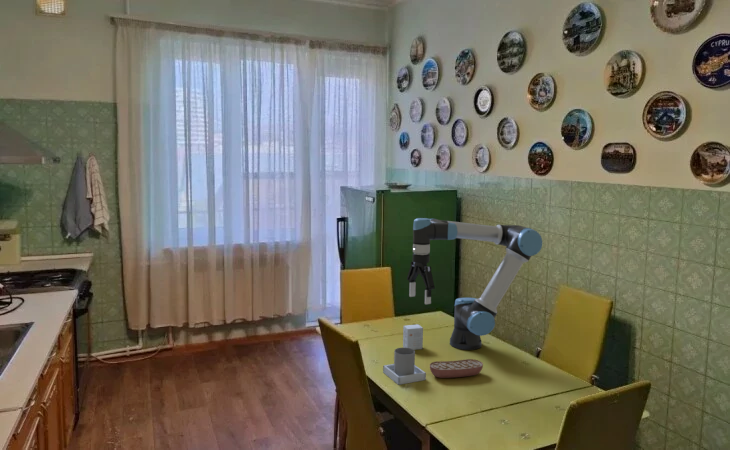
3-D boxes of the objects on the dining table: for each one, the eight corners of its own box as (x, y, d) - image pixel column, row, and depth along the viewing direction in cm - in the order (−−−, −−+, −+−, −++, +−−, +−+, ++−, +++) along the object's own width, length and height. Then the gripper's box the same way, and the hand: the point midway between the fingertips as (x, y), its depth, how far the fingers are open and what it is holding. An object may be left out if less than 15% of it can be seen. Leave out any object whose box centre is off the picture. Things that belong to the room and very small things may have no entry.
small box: (418, 345, 265) (418, 324, 263) (422, 349, 259) (423, 327, 258) (402, 346, 262) (403, 325, 261) (407, 350, 257) (407, 329, 256)
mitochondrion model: (476, 369, 236) (477, 358, 235) (487, 378, 227) (487, 367, 226) (426, 373, 231) (426, 362, 230) (434, 383, 221) (434, 371, 221)
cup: (412, 379, 222) (413, 355, 221) (392, 377, 224) (392, 353, 223) (415, 371, 230) (416, 348, 229) (396, 369, 232) (396, 346, 231)
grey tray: (409, 367, 236) (409, 361, 236) (425, 379, 224) (425, 372, 223) (383, 372, 231) (383, 365, 230) (398, 384, 219) (398, 377, 218)
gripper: (400, 249, 252) (399, 294, 255) (428, 258, 229) (427, 308, 232) (414, 248, 255) (413, 292, 258) (443, 257, 233) (442, 306, 235)
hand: (419, 300), depth 245 cm, fingers open, 13 cm apart
